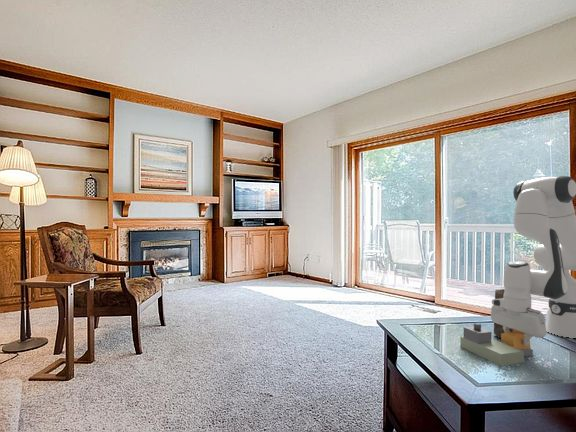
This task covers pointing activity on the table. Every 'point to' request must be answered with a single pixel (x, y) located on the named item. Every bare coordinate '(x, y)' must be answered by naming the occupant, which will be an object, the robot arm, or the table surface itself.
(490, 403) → the table surface
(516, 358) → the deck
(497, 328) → the candle
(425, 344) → the table surface
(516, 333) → the orange lidded box
